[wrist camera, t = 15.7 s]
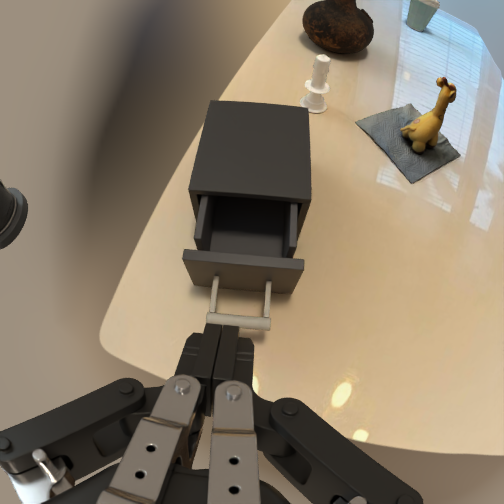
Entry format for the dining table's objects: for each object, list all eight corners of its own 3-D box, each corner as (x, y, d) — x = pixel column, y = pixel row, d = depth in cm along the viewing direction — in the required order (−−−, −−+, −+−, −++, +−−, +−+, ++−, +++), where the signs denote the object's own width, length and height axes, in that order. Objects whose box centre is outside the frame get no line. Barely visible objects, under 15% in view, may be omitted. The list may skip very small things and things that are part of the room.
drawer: (289, 338, 39) (302, 324, 31) (187, 328, 39) (173, 312, 31) (294, 197, 47) (304, 159, 39) (209, 190, 47) (203, 151, 39)
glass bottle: (375, 66, 65) (405, -28, 39) (306, 58, 64) (322, -47, 39) (356, 34, 72) (376, -47, 46) (295, 27, 71) (305, -60, 46)
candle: (302, 93, 58) (310, 45, 47) (328, 100, 58) (340, 52, 47) (297, 109, 56) (306, 58, 45) (324, 116, 56) (337, 66, 45)
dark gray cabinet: (297, 241, 45) (311, 199, 35) (199, 233, 45) (188, 189, 35) (298, 155, 51) (308, 107, 42) (214, 149, 52) (210, 100, 42)
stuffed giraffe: (460, 155, 54) (494, 102, 39) (410, 185, 51) (447, 121, 36) (410, 105, 60) (431, 50, 45) (354, 126, 56) (372, 59, 42)
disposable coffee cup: (400, 17, 83) (410, -14, 69) (426, 28, 82) (438, -3, 68) (403, 27, 79) (414, -7, 65) (431, 38, 78) (444, 6, 64)
